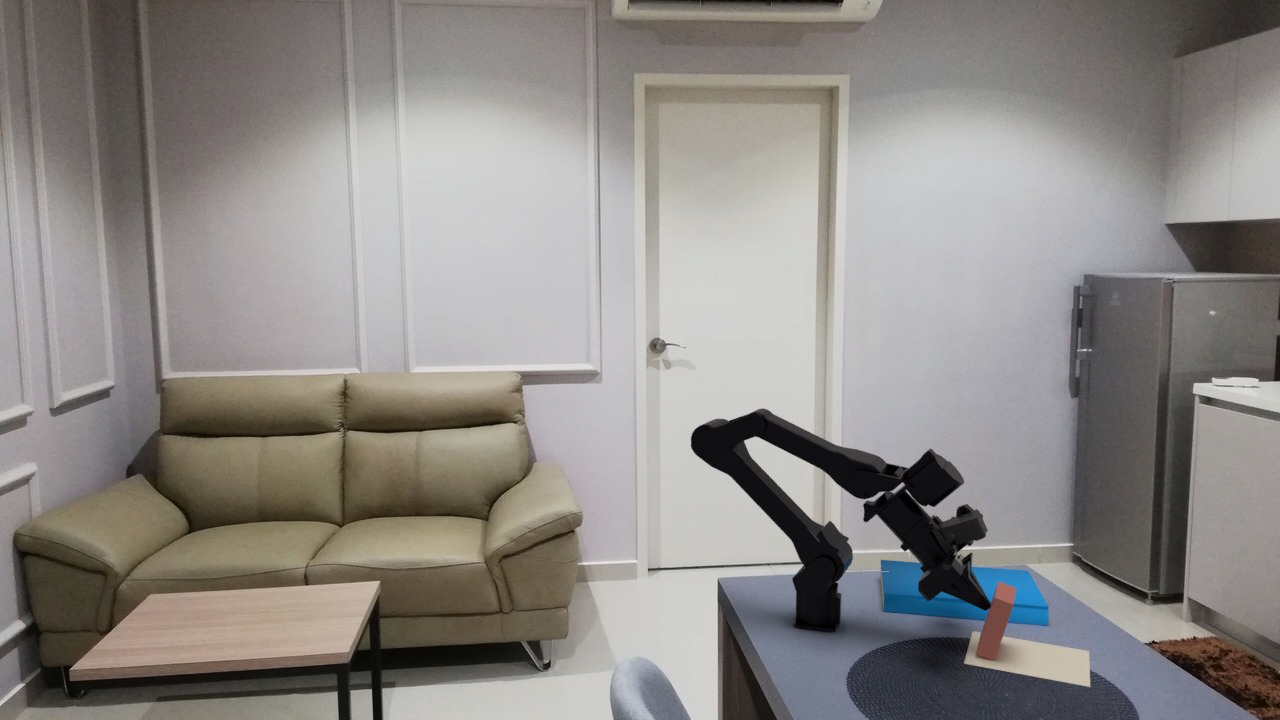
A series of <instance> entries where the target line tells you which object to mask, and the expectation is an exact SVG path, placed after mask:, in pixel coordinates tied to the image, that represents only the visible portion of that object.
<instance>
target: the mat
mask: <svg viewBox="0 0 1280 720" xmlns="http://www.w3.org/2000/svg"><path fill="white" fill-rule="evenodd" d="M980 635H981V632H980V631H972V633H971V636H970V639H969V644H968V647H967V651H966V655H965V659H964V661H963V664H964V665H969V666H974V667H975V666H976V667H981V668H985V669H991V670H997V671H1002V672H1006V673H1012V674H1017V675H1023V676H1028V677H1029V676H1030V677H1033V678H1040V679H1045V680H1050V681H1056V682H1062V683H1064V684H1066V683H1067V684H1071V685H1076V686H1083V687H1087V688H1091V672H1090V671H1091V670H1090V669H1091V667H1090V665H1091V663H1090V651H1089V650H1084V649H1079V648H1073V647H1067V646H1061V645H1056V644H1055V645H1054V644H1051V643H1050V644H1049V643H1044V642H1038V641H1033V640H1027V639H1020V638H1015V637H1010V636H1004V635H1003V637H1002V640H1001V643H1000V646H999V649H998V652H997V655H996V658H995V661H993V660H990V659H988V658H985V657H983V656H980V655H978V654H976V651H977V647H978V642H979V638H980Z"/></svg>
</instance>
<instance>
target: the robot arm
mask: <svg viewBox="0 0 1280 720" xmlns="http://www.w3.org/2000/svg"><path fill="white" fill-rule="evenodd" d="M752 438H758V439H761V440H762V441H765V442H767V443H768V444H771V445H773V446H774V447H777V448H779V449H780V450H782V451H785V452H787V453H788V454H790V455H793V456H794V457H796V458H799V459H800V460H802V461H804V462H806V463H808V464H810V465H812V466H814V467H816V468H818V469H820V470H821V471H823V472H824V473H826V474H827V475H828V476H829V477H830V478H831V480H832V481H833V482H835V483H836V485H838V486H839V487H840V488H842V489H843V490H844V491H846V492H847V493H849V494H850V495H851V496H852V497H855V498H857V499H860V500H865V502H864V503H863V505H862V507H863V519H862V520H863V523H868V522H870V520H872V519H873V518H874V517H875V516H877V517H878V518H879V519H880V520H881V522H883V524H884V525H885V526H886V527H887V528H888V529H889V530H890V532H892V534H894V536H895V537H896V538H897V539H898V540H899V541H900V542H901V544H900V546H899V548H901V550H903V552H907V551H909V552H910V553H911V554H912V555H913V556H914V558H915V559H917V561H918V563H921V564H922V565H921V567H920V569H921V570H922V571H923V572H924V574H922V576H921V578H920V580H919V583H918V591H919V592H920V593H921V595H922V596H923V597H924V598H925V599H926V600H927V601H930V600H931V599H933V598H934V597H935V596H936V595H938V594H939V593H940V592H944V593H946V594H949V595H951V596H954V597H956V598H959V599H961V600H963V601H965V602H967V603H970V604H972V605H974V606H976V607H978V608H980V609H982V610H985V611H986V610H988V609H989V608H990V607H991V603H990V601H989V600H988V598H987V596H986V594H985V593H984V591H983V589H982V587H981V585H980V584H979V582H978V580H977V578H976V576H975V574H974V573H973V571H972V567H973V556H974V554H973V552H970V553H968V554H967V555H966V556H964V555H962V554H961V553H960V554H958V553H959V552H960V551H961V550H963V549H964V548H965V547H966V546H969V547H971V546H972V545H973V544H974V542H975V541H976V542H978V541H981V540H983V539H985V538H986V537H987V532H988V530H989V529H988V528H987V526H986V524H985V521H984V515H983V513H981V512H980V510H979V509H978V508H977V509H974V508H972V507H971V506H970V505H969V504H968V503H965V504H963V505H959V506H957V508H956V514H955V515H956V516H951V518H949V519H947V520H944V521H943V520H942V519H941V518H940V517H939V516H938V515H935V514H933V515H932V516H930V515H929V513H928V512H927V511H926V510H925V509H924V508H923V507H927V506H930V507H933V508H936V506H938V505H939V504H940V503H942V502H943V501H944V500H945V499H947V498H948V497H949V496H951V494H953V493H954V492H955V491H957V490H958V489H959V488H960V487H961V486H963V485H964V484H965V479H964V477H963V476H962V474H961V472H960V471H959V470H958V469H957V467H956V466H955V465H954V464H953V463H952V462H951V461H950V460H947V459H946V458H944V457H943V456H942V455H940V454H939V453H938V454H937V453H936V451H934V449H932V448H928V450H926V451H925V452H924V453H923V454H922V455H921V457H920V458H919V459H918V460H917V461H915V462H914V463H913V464H911V466H909V467H907V466H901V465H897V464H892V463H889V462H888V463H887V462H886V461H885V460H884V458H882V457H880V456H879V455H877V454H874V453H870V452H867V451H863V450H860V449H856V448H850V447H844V446H841V445H836V444H835V443H832V442H831V441H829V440H826V439H825V438H823V437H821V436H819V435H816V434H814V433H812V432H810V431H808V430H807V429H804V428H803V427H800V426H798V425H797V424H794V423H792V422H790V421H788V420H787V419H784V418H782V417H780V416H778V415H776V414H774V413H773V412H772V411H771V410H769V409H767V408H758V409H756V410H754V411H751V412H750V413H747V414H744V415H742V416H738V417H736V418H732V419H730V420H728V419H725V418H715V419H712V420H709V421H707V422H705V423H703V424H700V425H698V426H697V427H696V428H694V429H693V431H692V433H691V436H690V447H691V448H690V449H691V450H692V452H693V453H694V454H695V456H697V458H699V459H701V460H702V461H703V462H705V463H706V464H707V465H708V466H709V467H711V468H713V469H715V470H717V471H719V472H721V473H724V474H726V475H728V476H729V477H730V479H732V480H733V481H734V482H735V483H736V484H737V486H739V487H740V488H741V490H743V491H744V492H745V494H746V495H747V496H748V497H749V498H751V500H752V501H753V502H754V503H755V504H756V505H757V506H758V508H760V509H761V510H762V511H763V513H765V515H767V517H769V519H770V520H771V521H772V522H773V523H774V524H775V525H776V526H777V527H778V528H779V529H780V530H781V531H782V533H783V534H785V535H786V536H787V538H788V539H789V540H790V541H791V543H792V545H793V547H794V550H795V551H796V555H797V556H798V558H799V561H800V562H801V564H802V567H801V568H800V569H799V570H798V571H797V572H796V574H795V575H793V576H792V578H791V579H792V583H793V586H794V590H795V618H794V622H793V627H795V628H801V629H808V630H818V631H824V632H825V631H826V632H836V631H837V629H838V628H837V627H838V625H840V623H841V621H842V620H841V619H842V598H843V597H842V596H843V595H842V593H841V592H839V583H838V582H839V580H840V579H842V577H843V576H844V575H845V573H846V572H847V570H848V569H849V567H850V566H851V565H852V563H853V559H854V556H853V548H852V546H851V545H850V544H849V542H848V541H849V540H850V538H849V537H848V536H846V535H844V534H843V533H842V532H841V531H840V530H839V529H838V528H837V526H836V525H835V523H833V522H832V521H831V520H828V522H827V523H826V524H825V525H822V524H821V523H818V522H816V521H814V520H813V519H812V518H810V516H808V514H807V513H806V512H805V511H804V510H803V509H802V508H801V507H800V506H799V505H798V504H797V503H796V502H795V501H794V500H793V499H792V498H791V496H789V494H788V493H787V492H785V491H784V489H783V488H782V487H781V486H780V485H779V484H777V482H775V480H774V479H773V478H772V477H771V476H770V475H769V473H767V472H766V471H765V470H764V469H763V468H762V467H761V466H760V464H758V462H756V461H755V459H753V457H752V456H751V454H750V453H749V450H748V448H747V445H746V443H745V441H747V440H749V439H752ZM901 484H904V485H903V486H901V487H900V488H899V489H897V488H898V487H899V486H900V485H901ZM895 489H897V490H896V491H894V490H895ZM893 491H894V492H893ZM879 493H882V494H881V495H880V496H878V497H877V498H876V499H875V500H873V501H872V500H868V499H871V498H874V497H875V496H877V495H878V494H879ZM922 506H923V507H922Z"/></svg>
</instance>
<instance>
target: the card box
mask: <svg viewBox="0 0 1280 720" xmlns="http://www.w3.org/2000/svg"><path fill="white" fill-rule="evenodd" d="M1015 594H1016V588H1015V587H1012V586H1010V585H1007V584H1004V583H1002V582H999V581H998V584H997V587H996V590H995V593H994V596H993V599H992V602H991V607H990V608H989V611H988V614H987V617H986V620H984V623H983V626H982V629H981V632H980V633H981V635H980V638H979V642H978V647H977V651H976V654H978V655H980V656H983V657H985V658H988V659H990V660H993V661H995V658H996V655H997V652H998V649H999V646H1000V643H1001V640H1002V637H1003V636H1004V634H1005V633H1006V632H1005V631H1006V627H1007V626H1008V623H1009V622H1008V620H1009V617H1010V614H1011V611H1012V608H1013V605H1014V600H1015Z"/></svg>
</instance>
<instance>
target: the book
mask: <svg viewBox="0 0 1280 720" xmlns="http://www.w3.org/2000/svg"><path fill="white" fill-rule="evenodd" d="M921 565H922V564H921V563H920V562H917V561H915V562H913V561H905V560H903V561H902V560H901V561H899V560H887V559H880V572H879V574H880V576H879V577H880V587H881V598H882V609H883V612H886V613H887V612H888V613H895V614H896V613H898V614H908V615H920V616H932V617H943V618H944V617H945V618H955V619H966V620H978V621H985V620H986V617H987V614H988V611H989V609H988V610H986V611H985V610H982V609H980V608H978V607H976V606H974V605H972V604H970V603H967V602H965V601H963V600H961V599H959V598H956V597H954V596H951V595H949V594H946V593H944V592H940V593H939V594H938V595H936V596H935V597H934V598H933V599H931V600H930V601H927V600H926V599H925V598H924V597H923V596H922V595H921V593H920V592H919V591H918V583H919V580H920V578H921V576H922V574H924V572H923V571H922V570H921V569H920V567H921ZM881 571H889V572H881ZM972 571H973V573H974V574H975V576H976V578H977V580H978V582H979V584H980V585H981V587H982V589H983V591H984V593H985V594H986V596H987V598H988V600H989V601H990V603H991V602H992V599H993V596H994V593H995V590H996V587H997V584H998V581H999V582H1002V583H1004V584H1007V585H1010V586H1012V587H1015V588H1016V594H1015V600H1014V605H1013V608H1012V611H1011V614H1010V617H1009V620H1008V623H1015V624H1023V625H1024V624H1025V625H1034V626H1035V625H1036V626H1049V615H1050V613H1049V606H1048V603H1047V601H1046V600H1045V598H1044V596H1043V594H1042V593H1041V591H1040V588H1039V587H1038V586H1037V583H1036V582H1035V580H1034V578H1033V577H1032V575H1031V572H1030V571H1029V570H1025V569H1024V570H1023V569H1008V568H997V567H995V568H994V567H983V566H982V567H981V566H972Z"/></svg>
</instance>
